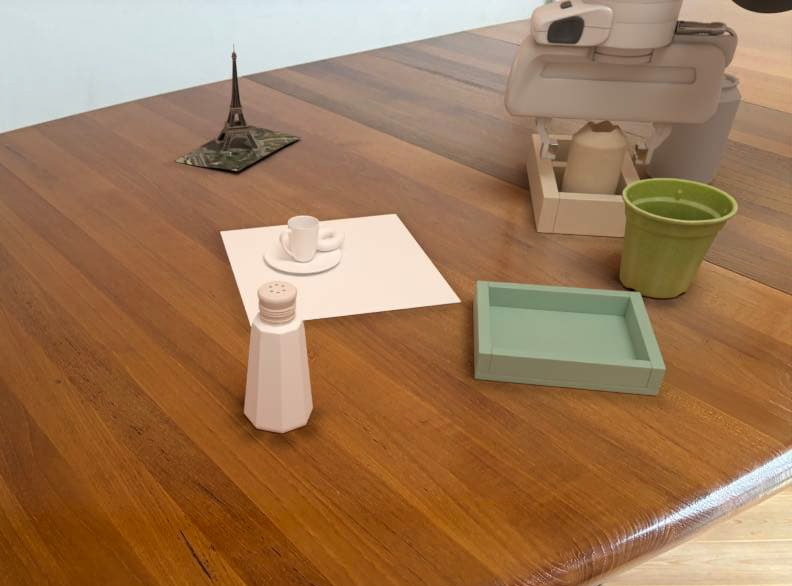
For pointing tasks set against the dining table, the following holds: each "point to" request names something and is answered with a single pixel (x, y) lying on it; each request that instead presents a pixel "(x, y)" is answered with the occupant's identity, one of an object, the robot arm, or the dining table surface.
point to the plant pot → (669, 233)
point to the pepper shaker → (278, 363)
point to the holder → (573, 196)
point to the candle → (595, 159)
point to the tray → (565, 338)
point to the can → (697, 142)
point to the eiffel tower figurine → (237, 139)
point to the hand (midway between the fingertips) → (593, 160)
